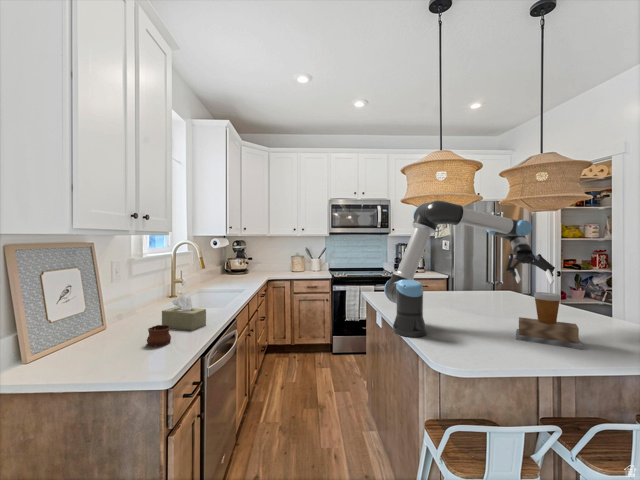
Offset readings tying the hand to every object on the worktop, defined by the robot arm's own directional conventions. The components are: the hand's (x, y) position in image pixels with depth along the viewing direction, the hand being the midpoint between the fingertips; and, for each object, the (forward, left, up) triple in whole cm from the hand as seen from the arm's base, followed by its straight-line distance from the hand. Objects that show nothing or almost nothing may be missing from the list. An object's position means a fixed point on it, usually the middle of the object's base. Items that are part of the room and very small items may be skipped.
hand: (535, 282), depth 141 cm
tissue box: (-144, -83, -24) cm, 168 cm away
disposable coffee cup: (+4, -9, -16) cm, 19 cm away
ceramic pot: (-128, -104, -24) cm, 167 cm away
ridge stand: (+4, -10, -23) cm, 26 cm away
